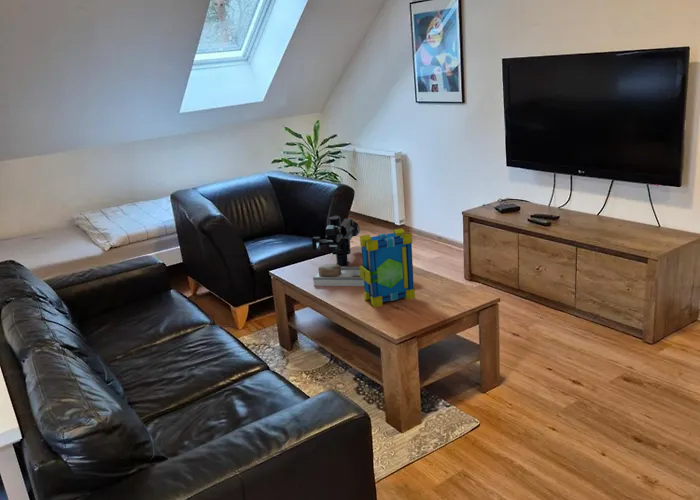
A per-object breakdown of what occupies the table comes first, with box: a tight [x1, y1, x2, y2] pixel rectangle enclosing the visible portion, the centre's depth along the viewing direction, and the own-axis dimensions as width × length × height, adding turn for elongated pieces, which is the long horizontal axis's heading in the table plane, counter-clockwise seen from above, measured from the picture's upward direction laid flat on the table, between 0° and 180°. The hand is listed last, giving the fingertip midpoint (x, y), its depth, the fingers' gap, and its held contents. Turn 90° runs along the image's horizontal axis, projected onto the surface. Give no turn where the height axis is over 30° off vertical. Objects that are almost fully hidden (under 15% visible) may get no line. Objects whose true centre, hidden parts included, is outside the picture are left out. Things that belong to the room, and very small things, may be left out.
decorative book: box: [358, 227, 416, 308], centre depth 278 cm, size 14×23×30 cm, turn 111°
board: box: [312, 266, 364, 287], centre depth 308 cm, size 15×31×5 cm, turn 77°
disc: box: [318, 263, 342, 277], centre depth 310 cm, size 11×11×4 cm
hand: (326, 249), depth 303 cm, fingers open, 9 cm apart
